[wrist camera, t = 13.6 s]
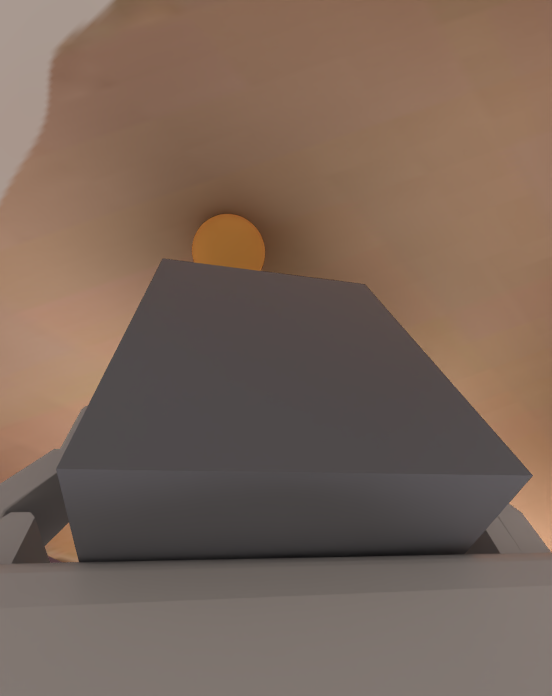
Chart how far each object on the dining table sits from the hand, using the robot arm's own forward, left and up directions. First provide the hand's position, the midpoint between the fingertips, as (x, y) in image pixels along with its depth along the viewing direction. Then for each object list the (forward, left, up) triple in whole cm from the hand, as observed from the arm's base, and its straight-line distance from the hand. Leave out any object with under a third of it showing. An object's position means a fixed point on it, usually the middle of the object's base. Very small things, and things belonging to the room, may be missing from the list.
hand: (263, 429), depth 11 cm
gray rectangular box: (0, 0, -4) cm, 4 cm away
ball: (+2, -1, -16) cm, 16 cm away
